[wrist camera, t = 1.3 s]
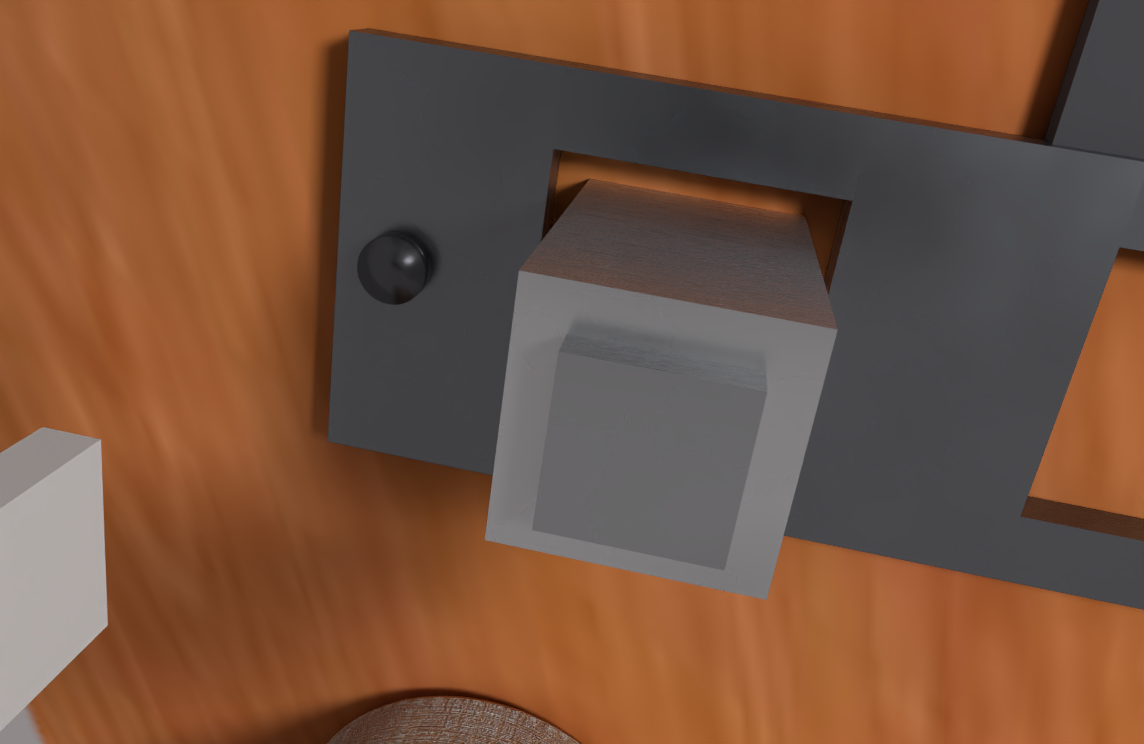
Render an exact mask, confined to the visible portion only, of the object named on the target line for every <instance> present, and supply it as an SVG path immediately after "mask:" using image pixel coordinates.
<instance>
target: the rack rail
mask: <svg viewBox="0 0 1144 744" xmlns="http://www.w3.org/2000/svg"><path fill="white" fill-rule="evenodd" d="M561 150H562V151H568V152H574V153H580V154H585V155H591V156H597V157H603V158H608V159H614V160H620V161H626V162H632V163H637V164H643V165H649V166H655V167H660V168H666V169H672V170H678V171H683V172H689V173H695V174H701V175H706V176H712V177H718V178H724V179H729V180H735V181H741V182H747V183H753V184H758V185H764V186H770V187H776V188H781V189H787V190H793V191H799V192H804V193H810V194H816V195H822V196H827V197H833V198H839V199H845V200H844V204H843V208H842V212H841V216H840V219H839V223H838V227H837V231H836V235H835V239H834V243H833V247H832V251H831V255H830V259H829V263H828V267H827V271H826V275H825V279H824V283H825V287H826V290H827V294H828V297H829V301H830V304H831V308H832V311H833V315H834V318H835V322H836V325H837V329H838V331H837V334H836V338H835V342H834V346H833V350H832V353H831V357H830V361H829V365H828V369H827V372H826V376H825V380H824V384H823V388H822V391H821V395H820V399H819V403H818V407H817V410H816V414H815V418H814V422H813V425H812V429H811V433H810V437H809V441H808V444H807V448H806V452H805V456H804V460H803V463H802V467H801V471H800V475H799V479H798V482H797V486H796V490H795V494H794V498H793V501H792V505H791V509H790V513H789V516H788V520H787V524H786V528H785V532H784V535H785V536H789V537H794V538H799V539H804V540H809V541H814V542H819V543H823V544H828V545H833V546H838V547H843V548H848V549H853V550H857V551H862V552H867V553H872V554H877V555H882V556H886V557H891V558H896V559H901V560H906V561H911V562H916V563H920V564H925V565H930V566H935V567H940V568H945V569H950V570H954V571H959V572H964V573H969V574H974V575H979V576H984V577H988V578H993V579H998V580H1003V581H1008V582H1013V583H1018V584H1022V585H1027V586H1032V587H1037V588H1042V589H1047V590H1052V591H1056V592H1061V593H1066V594H1071V595H1076V596H1081V597H1086V598H1090V599H1095V600H1100V601H1105V602H1110V603H1115V604H1119V605H1124V606H1129V607H1134V608H1139V609H1144V519H1141V518H1136V517H1131V516H1126V515H1121V514H1116V513H1111V512H1106V511H1101V510H1096V509H1090V508H1085V507H1080V506H1075V505H1070V504H1065V503H1060V502H1055V501H1050V500H1045V499H1040V498H1035V497H1030V496H1028V494H1029V491H1030V489H1031V486H1032V483H1033V481H1034V478H1035V475H1036V472H1037V470H1038V467H1039V464H1040V462H1041V459H1042V456H1043V453H1044V451H1045V448H1046V445H1047V443H1048V440H1049V437H1050V435H1051V432H1052V429H1053V426H1054V424H1055V421H1056V418H1057V416H1058V413H1059V410H1060V407H1061V405H1062V402H1063V399H1064V397H1065V394H1066V391H1067V388H1068V386H1069V383H1070V380H1071V378H1072V375H1073V372H1074V369H1075V367H1076V364H1077V361H1078V359H1079V356H1080V353H1081V350H1082V348H1083V345H1084V342H1085V340H1086V337H1087V334H1088V332H1089V329H1090V326H1091V323H1092V321H1093V318H1094V315H1095V313H1096V310H1097V307H1098V304H1099V302H1100V299H1101V296H1102V294H1103V291H1104V288H1105V285H1106V283H1107V280H1108V277H1109V275H1110V272H1111V269H1112V266H1113V264H1114V261H1115V258H1116V256H1117V253H1118V250H1119V247H1121V248H1127V249H1133V250H1139V251H1144V159H1141V158H1135V157H1129V156H1123V155H1117V154H1111V153H1105V152H1099V151H1093V150H1087V149H1081V148H1075V147H1069V146H1063V145H1056V144H1052V143H1050V142H1048V141H1046V140H1043V139H1037V138H1031V137H1025V136H1019V135H1013V134H1007V133H1001V132H995V131H989V130H983V129H976V128H970V127H964V126H958V125H952V124H946V123H940V122H934V121H928V120H922V119H916V118H910V117H904V116H898V115H892V114H885V113H879V112H873V111H867V110H861V109H855V108H849V107H843V106H837V105H831V104H825V103H819V102H813V101H807V100H801V99H795V98H788V97H782V96H776V95H770V94H764V93H758V92H752V91H746V90H740V89H734V88H728V87H722V86H716V85H710V84H704V83H697V82H691V81H685V80H679V79H673V78H667V77H661V76H655V75H649V74H643V73H637V72H631V71H625V70H619V69H613V68H606V67H600V66H594V65H588V64H582V63H576V62H570V61H564V60H558V59H552V58H546V57H540V56H534V55H528V54H522V53H516V52H509V51H503V50H497V49H491V48H485V47H479V46H473V45H467V44H461V43H455V42H449V41H443V40H437V39H431V38H425V37H418V36H412V35H406V34H400V33H394V32H388V31H382V30H376V29H370V28H367V29H358V30H349V45H348V64H347V83H346V102H345V122H344V141H343V160H342V179H341V198H340V217H339V236H338V255H337V274H336V293H335V312H334V331H333V350H332V369H331V388H330V407H329V426H328V442H333V443H338V444H343V445H348V446H353V447H357V448H362V449H367V450H372V451H377V452H382V453H386V454H391V455H396V456H401V457H406V458H411V459H416V460H420V461H425V462H430V463H435V464H440V465H445V466H450V467H454V468H459V469H464V470H469V471H474V472H479V473H484V474H488V475H493V471H494V463H495V455H496V447H497V439H498V431H499V424H500V416H501V408H502V400H503V392H504V384H505V376H506V368H507V361H508V353H509V345H510V337H511V329H512V321H513V313H514V305H515V298H516V290H517V282H518V274H519V270H520V268H521V267H522V266H523V265H524V263H525V262H526V261H527V259H528V258H529V257H530V255H531V254H532V253H533V252H534V250H535V249H536V248H537V246H538V245H539V244H540V243H541V241H542V240H543V239H544V237H545V236H546V235H547V233H548V232H549V231H550V228H551V221H552V213H553V206H554V199H555V191H556V184H557V177H558V170H559V162H560V155H561Z"/></svg>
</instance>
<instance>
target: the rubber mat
mask: <svg viewBox="0 0 1144 744" xmlns="http://www.w3.org/2000/svg"><path fill="white" fill-rule="evenodd" d="M1044 140H1046V141H1048V142H1050V143H1052V144H1056V145H1063V146H1069V147H1075V148H1081V149H1087V150H1093V151H1099V152H1105V153H1111V154H1117V155H1123V156H1129V157H1135V158H1141V159H1144V0H1089V3H1088V6H1087V9H1086V12H1085V15H1084V18H1083V21H1082V25H1081V28H1080V31H1079V34H1078V37H1077V40H1076V43H1075V46H1074V49H1073V52H1072V55H1071V58H1070V62H1069V65H1068V68H1067V71H1066V74H1065V77H1064V80H1063V83H1062V86H1061V89H1060V92H1059V95H1058V99H1057V102H1056V105H1055V108H1054V111H1053V114H1052V117H1051V120H1050V123H1049V126H1048V129H1047V132H1046V136H1045V139H1044Z"/></svg>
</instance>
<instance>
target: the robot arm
mask: <svg viewBox="0 0 1144 744" xmlns="http://www.w3.org/2000/svg"><path fill="white" fill-rule="evenodd" d="M107 626H108V618H107V592H106V566H105V539H104V513H103V486H102V460H101V439H96V438H92V437H87V436H82V435H77V434H73V433H68V432H63V431H59V430H54V429H49V428H44V427H42V428H40V429H39V430H37V431H35V432H34V433H32V434H30V435H29V436H27V437H26V438H24V439H22V440H21V441H19V442H17V443H16V444H14V445H13V446H11V447H9V448H8V449H6V450H4V451H3V452H1V453H0V731H1V730H2V729H3V728H4V727H5V726H6V725H7V724H8V723H9V722H10V721H11V720H13V719H14V717H16V716H17V714H18V713H20V712H21V711H22V710H23V709H24V708H25V707H26V706H27V705H28V704H29V703H30V702H31V701H32V700H33V699H34V698H35V697H36V696H37V695H38V694H39V693H40V692H41V691H42V690H43V689H44V688H45V687H46V686H47V685H48V684H49V683H50V682H51V681H52V680H53V679H54V678H55V677H56V676H57V675H58V674H59V673H60V672H61V671H62V670H63V669H64V668H65V667H66V666H67V665H68V664H69V663H70V662H71V661H72V660H73V659H74V658H75V657H76V656H77V655H78V654H79V653H80V652H81V651H82V650H83V649H84V648H85V647H86V646H87V645H88V644H89V643H90V642H91V641H92V640H93V639H94V638H95V637H96V636H97V635H98V634H99V633H100V632H101V631H102V630H103V629H104V628H106V627H107Z"/></svg>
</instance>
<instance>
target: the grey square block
mask: <svg viewBox="0 0 1144 744" xmlns="http://www.w3.org/2000/svg"><path fill="white" fill-rule="evenodd" d="M837 331H838V329H837V325H836V322H835V318H834V315H833V311H832V308H831V304H830V301H829V297H828V294H827V290H826V287H825V283H824V280H823V276H822V273H821V269H820V266H819V262H818V259H817V255H816V252H815V248H814V245H813V241H812V238H811V234H810V231H809V227H808V224H807V220H806V217H805V216H800V215H795V214H789V213H783V212H778V211H772V210H766V209H761V208H755V207H749V206H743V205H738V204H732V203H726V202H721V201H715V200H709V199H704V198H698V197H692V196H687V195H681V194H675V193H669V192H664V191H658V190H652V189H647V188H641V187H635V186H630V185H624V184H618V183H613V182H607V181H601V180H596V179H589V180H588V182H587V183H586V184H585V186H584V187H583V188H582V189H581V191H580V192H579V193H578V195H577V196H576V197H575V198H574V200H573V201H572V202H571V204H570V205H569V206H568V208H567V209H566V210H565V211H564V213H563V214H562V215H561V217H560V218H559V219H558V221H557V222H556V223H555V224H554V226H553V227H552V228H551V230H550V231H549V232H548V233H547V235H546V236H545V237H544V239H543V240H542V241H541V243H540V244H539V245H538V246H537V248H536V249H535V250H534V252H533V253H532V254H531V255H530V257H529V258H528V259H527V261H526V262H525V263H524V265H523V266H522V267H521V268H520V270H519V274H518V282H517V290H516V298H515V305H514V313H513V321H512V329H511V337H510V345H509V353H508V361H507V368H506V376H505V384H504V392H503V400H502V408H501V416H500V424H499V431H498V439H497V447H496V455H495V463H494V471H493V479H492V487H491V494H490V502H489V510H488V518H487V526H486V534H485V540H487V541H492V542H497V543H501V544H506V545H511V546H515V547H520V548H525V549H530V550H534V551H539V552H544V553H548V554H553V555H558V556H563V557H567V558H572V559H577V560H581V561H586V562H591V563H596V564H600V565H605V566H610V567H614V568H619V569H624V570H629V571H633V572H638V573H643V574H647V575H652V576H657V577H662V578H666V579H671V580H676V581H680V582H685V583H690V584H695V585H699V586H704V587H709V588H713V589H718V590H723V591H728V592H732V593H737V594H742V595H746V596H751V597H756V598H761V599H765V600H767V596H768V592H769V589H770V585H771V581H772V577H773V573H774V570H775V566H776V562H777V558H778V554H779V551H780V547H781V543H782V539H783V535H784V532H785V528H786V524H787V520H788V516H789V513H790V509H791V505H792V501H793V498H794V494H795V490H796V486H797V482H798V479H799V475H800V471H801V467H802V463H803V460H804V456H805V452H806V448H807V444H808V441H809V437H810V433H811V429H812V425H813V422H814V418H815V414H816V410H817V407H818V403H819V399H820V395H821V391H822V388H823V384H824V380H825V376H826V372H827V369H828V365H829V361H830V357H831V353H832V350H833V346H834V342H835V338H836V334H837Z"/></svg>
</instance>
